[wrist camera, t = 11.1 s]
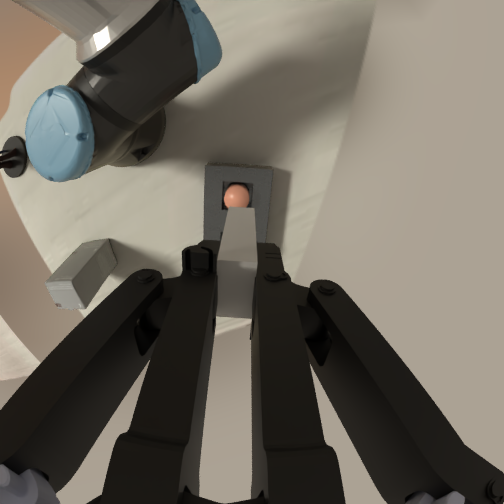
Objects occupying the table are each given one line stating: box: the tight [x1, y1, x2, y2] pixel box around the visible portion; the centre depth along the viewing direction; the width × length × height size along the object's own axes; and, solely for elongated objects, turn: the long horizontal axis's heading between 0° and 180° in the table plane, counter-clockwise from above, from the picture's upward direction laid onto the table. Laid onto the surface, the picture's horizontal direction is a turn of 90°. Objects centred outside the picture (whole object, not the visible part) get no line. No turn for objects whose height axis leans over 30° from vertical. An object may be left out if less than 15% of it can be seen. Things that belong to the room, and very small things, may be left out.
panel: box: [204, 162, 273, 243], centre depth 50 cm, size 11×28×4 cm, turn 175°
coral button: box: [224, 183, 249, 208], centre depth 45 cm, size 4×4×4 cm
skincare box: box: [45, 239, 117, 310], centre depth 46 cm, size 8×7×16 cm
